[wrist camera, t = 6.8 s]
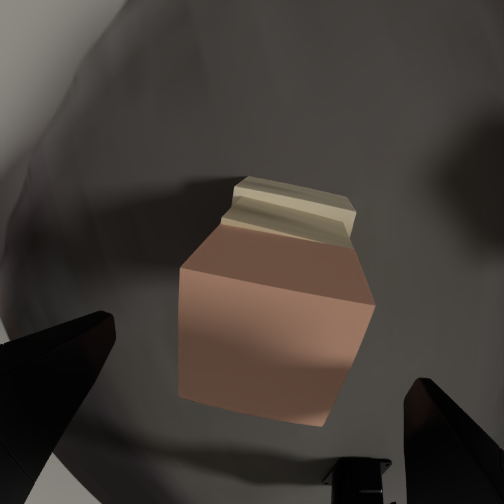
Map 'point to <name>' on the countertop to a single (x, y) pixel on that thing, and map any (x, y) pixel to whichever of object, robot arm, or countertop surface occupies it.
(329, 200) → the tower base
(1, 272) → the countertop surface
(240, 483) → the countertop surface
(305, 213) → the tower mid
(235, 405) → the terracotta block
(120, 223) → the countertop surface
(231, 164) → the countertop surface
